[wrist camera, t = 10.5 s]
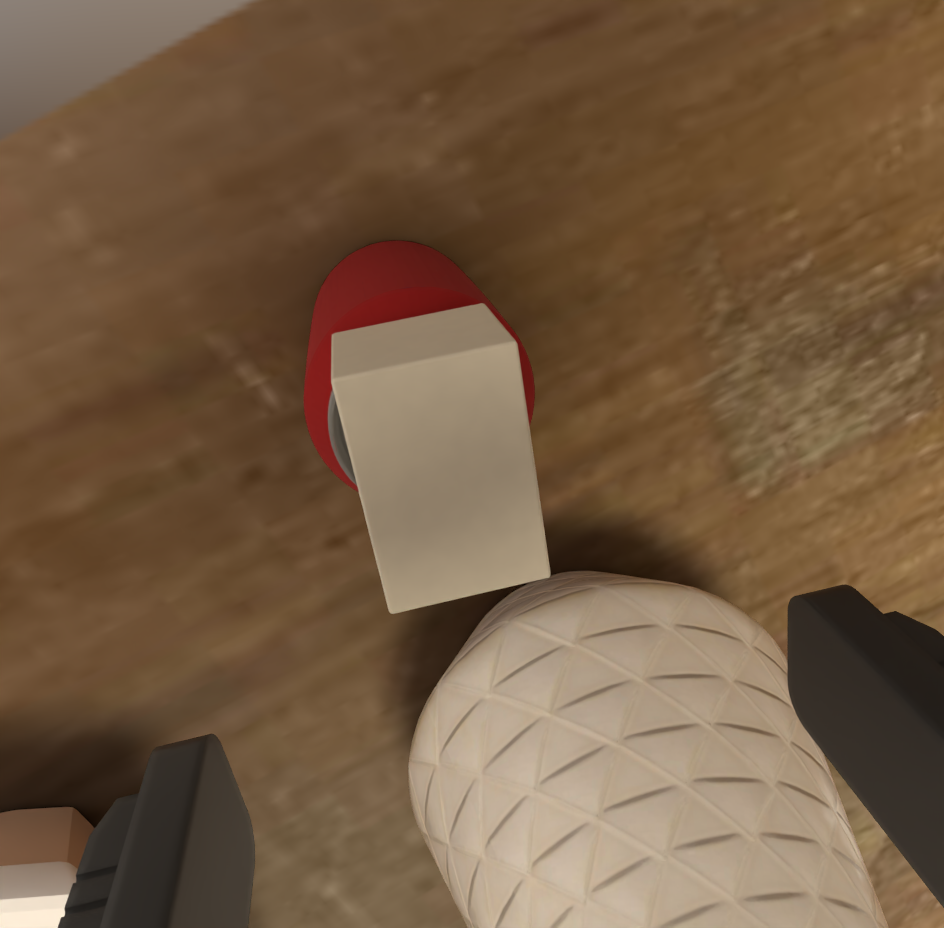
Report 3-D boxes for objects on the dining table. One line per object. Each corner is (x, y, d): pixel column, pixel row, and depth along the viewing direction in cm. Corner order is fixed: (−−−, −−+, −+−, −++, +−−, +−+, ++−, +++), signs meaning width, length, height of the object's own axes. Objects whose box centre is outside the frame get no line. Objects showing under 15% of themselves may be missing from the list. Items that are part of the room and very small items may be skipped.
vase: (793, 599, 41) (1266, 1089, 20) (599, 828, 46) (824, 1425, 25) (524, 447, 35) (802, 916, 14) (332, 726, 40) (330, 1398, 19)
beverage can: (363, 427, 34) (377, 571, 23) (279, 286, 31) (249, 375, 20) (504, 354, 33) (586, 466, 23) (432, 205, 31) (486, 250, 20)
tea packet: (330, 332, 20) (330, 379, 16) (484, 301, 20) (518, 340, 17) (380, 536, 22) (389, 616, 19) (517, 505, 23) (552, 578, 19)
